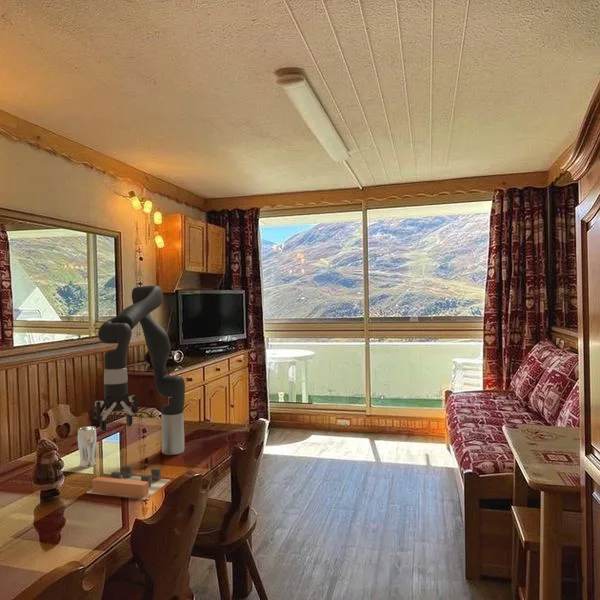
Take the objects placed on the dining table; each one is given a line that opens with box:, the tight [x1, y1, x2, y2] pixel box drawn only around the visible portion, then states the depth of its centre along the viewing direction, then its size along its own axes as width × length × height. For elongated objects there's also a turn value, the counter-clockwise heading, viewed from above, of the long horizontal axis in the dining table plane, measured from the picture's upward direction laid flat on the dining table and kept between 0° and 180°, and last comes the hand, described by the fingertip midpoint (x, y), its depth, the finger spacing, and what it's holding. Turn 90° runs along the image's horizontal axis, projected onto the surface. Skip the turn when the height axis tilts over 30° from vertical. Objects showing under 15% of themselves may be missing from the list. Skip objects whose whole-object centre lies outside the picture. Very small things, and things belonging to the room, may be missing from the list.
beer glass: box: [77, 425, 97, 469], centre depth 191 cm, size 7×7×15 cm
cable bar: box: [91, 476, 149, 497], centre depth 161 cm, size 3×20×4 cm, turn 76°
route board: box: [86, 464, 171, 500], centre depth 167 cm, size 17×23×5 cm
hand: (116, 428), depth 161 cm, fingers open, 8 cm apart
